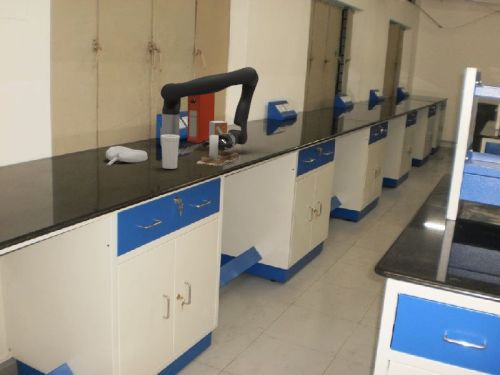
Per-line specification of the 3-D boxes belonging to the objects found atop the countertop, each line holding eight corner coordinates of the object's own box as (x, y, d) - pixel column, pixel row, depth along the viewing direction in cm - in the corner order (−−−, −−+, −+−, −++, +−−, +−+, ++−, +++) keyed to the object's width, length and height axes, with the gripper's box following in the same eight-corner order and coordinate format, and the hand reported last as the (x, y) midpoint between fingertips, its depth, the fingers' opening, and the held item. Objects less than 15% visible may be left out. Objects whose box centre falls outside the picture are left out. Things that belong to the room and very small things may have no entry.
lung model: (151, 158, 261) (126, 173, 238) (119, 155, 265) (91, 169, 242) (151, 144, 258) (125, 158, 236) (118, 142, 263) (90, 155, 240)
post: (207, 161, 254) (208, 135, 252) (211, 160, 258) (211, 134, 255) (215, 162, 253) (216, 136, 250) (218, 160, 257) (219, 135, 254)
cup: (170, 170, 235) (171, 137, 232) (156, 168, 239) (156, 135, 236) (182, 168, 242) (183, 135, 238) (168, 165, 246) (169, 133, 243)
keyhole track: (196, 163, 253) (196, 157, 252) (215, 156, 273) (215, 150, 272) (220, 166, 249) (221, 160, 248) (237, 158, 269) (238, 153, 268)
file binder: (186, 141, 312) (187, 84, 304) (201, 138, 327) (203, 83, 319) (199, 143, 308) (200, 85, 301) (213, 139, 324) (215, 84, 316)
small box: (214, 146, 301) (214, 122, 298) (208, 144, 306) (209, 121, 303) (226, 145, 306) (227, 122, 303) (221, 143, 311) (221, 120, 308)
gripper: (212, 132, 268) (198, 136, 253) (239, 134, 264) (226, 139, 249) (211, 147, 270) (197, 152, 255) (238, 150, 266) (226, 155, 251)
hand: (212, 145), depth 252 cm, fingers open, 8 cm apart
